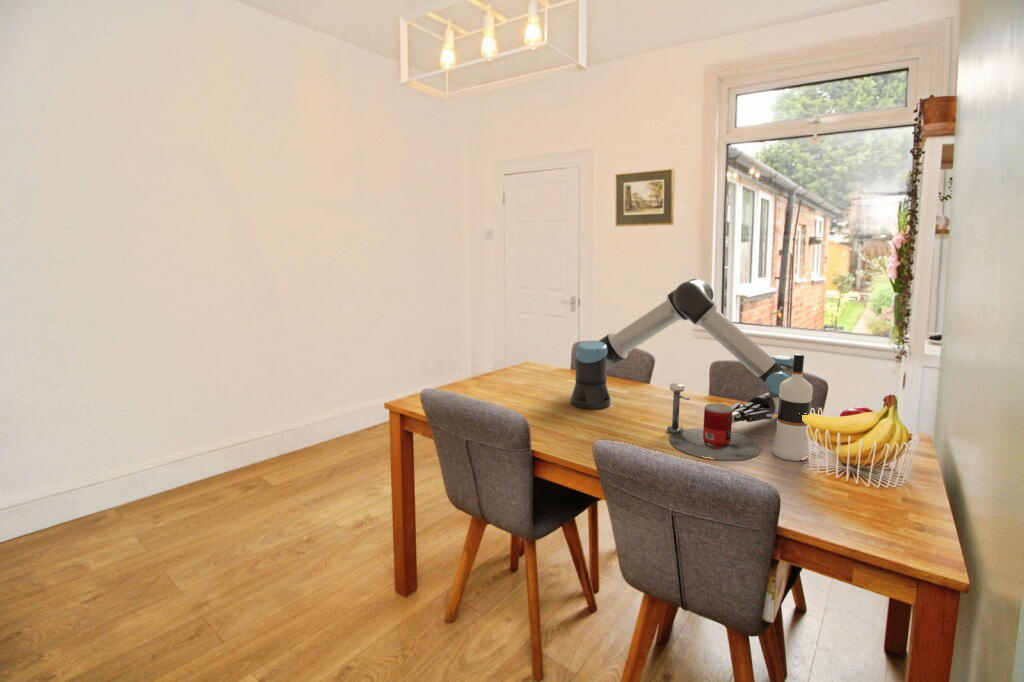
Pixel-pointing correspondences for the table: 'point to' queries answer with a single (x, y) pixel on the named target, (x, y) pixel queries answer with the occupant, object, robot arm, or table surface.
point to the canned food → (717, 424)
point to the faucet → (676, 407)
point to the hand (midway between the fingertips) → (726, 420)
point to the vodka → (793, 414)
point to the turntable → (715, 446)
